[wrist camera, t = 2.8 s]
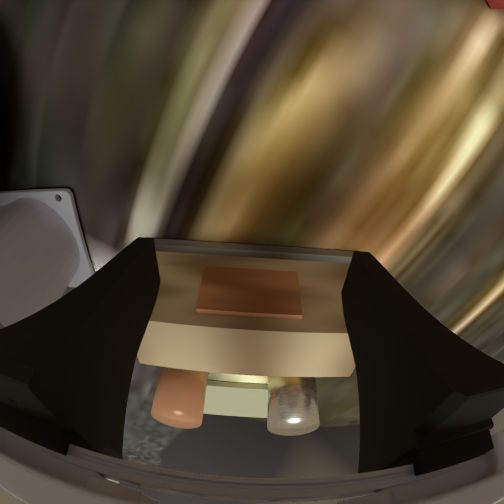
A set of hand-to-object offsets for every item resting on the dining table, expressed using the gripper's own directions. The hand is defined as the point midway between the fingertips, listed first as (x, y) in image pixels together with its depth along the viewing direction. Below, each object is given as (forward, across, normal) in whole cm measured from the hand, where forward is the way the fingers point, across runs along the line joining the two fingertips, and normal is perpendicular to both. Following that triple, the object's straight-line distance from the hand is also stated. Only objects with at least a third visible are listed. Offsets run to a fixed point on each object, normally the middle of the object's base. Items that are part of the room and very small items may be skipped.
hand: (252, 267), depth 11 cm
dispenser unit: (+6, 0, +6) cm, 9 cm away
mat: (+6, +1, +23) cm, 24 cm away
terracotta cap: (+6, +5, +16) cm, 18 cm away
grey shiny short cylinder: (+6, -4, +16) cm, 18 cm away
